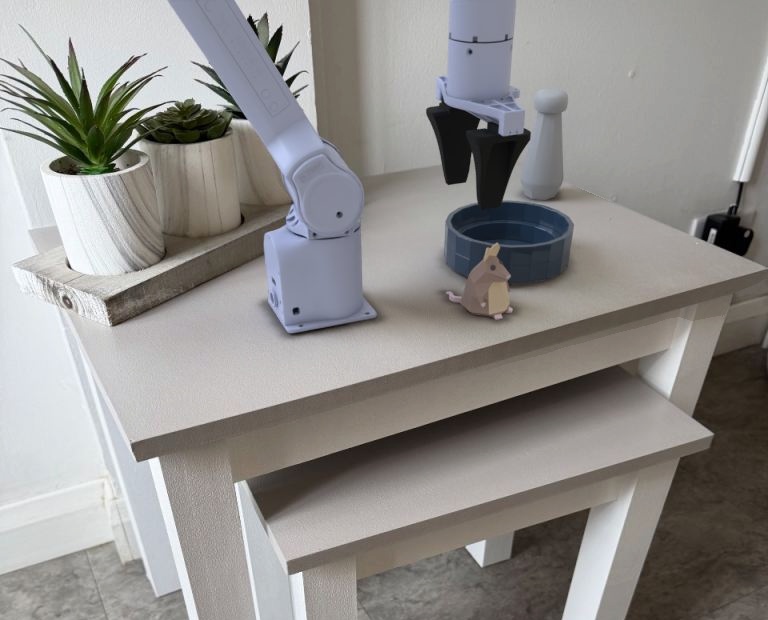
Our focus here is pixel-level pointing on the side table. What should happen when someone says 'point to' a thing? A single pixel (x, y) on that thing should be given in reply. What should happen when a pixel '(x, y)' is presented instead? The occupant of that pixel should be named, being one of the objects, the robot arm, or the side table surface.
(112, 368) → the side table surface
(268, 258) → the robot arm
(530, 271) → the bowl
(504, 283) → the mouse figurine
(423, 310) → the side table surface
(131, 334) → the side table surface
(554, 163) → the salt shaker
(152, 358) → the side table surface
